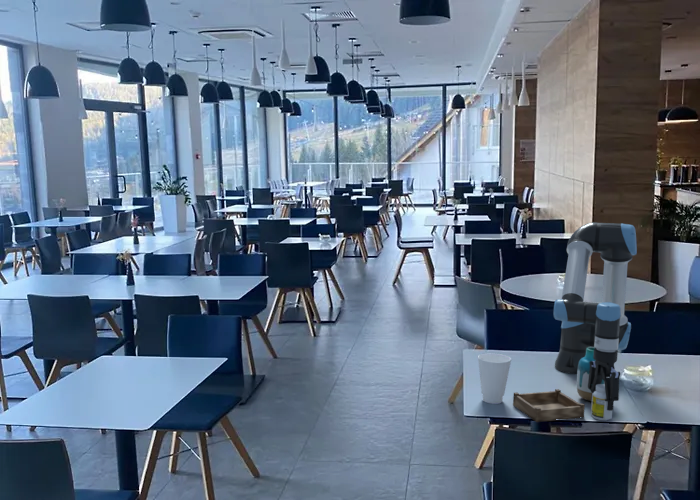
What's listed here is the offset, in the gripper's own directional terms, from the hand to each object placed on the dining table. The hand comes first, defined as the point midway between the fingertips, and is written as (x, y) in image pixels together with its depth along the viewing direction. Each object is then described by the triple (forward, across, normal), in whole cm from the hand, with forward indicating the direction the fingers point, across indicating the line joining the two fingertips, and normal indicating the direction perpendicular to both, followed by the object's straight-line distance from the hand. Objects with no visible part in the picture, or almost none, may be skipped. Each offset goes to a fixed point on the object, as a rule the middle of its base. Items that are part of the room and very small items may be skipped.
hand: (601, 414), depth 227 cm
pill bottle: (+1, 0, 0) cm, 1 cm away
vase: (+1, -16, +7) cm, 18 cm away
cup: (+1, -23, -29) cm, 37 cm away
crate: (+1, -9, -15) cm, 18 cm away
